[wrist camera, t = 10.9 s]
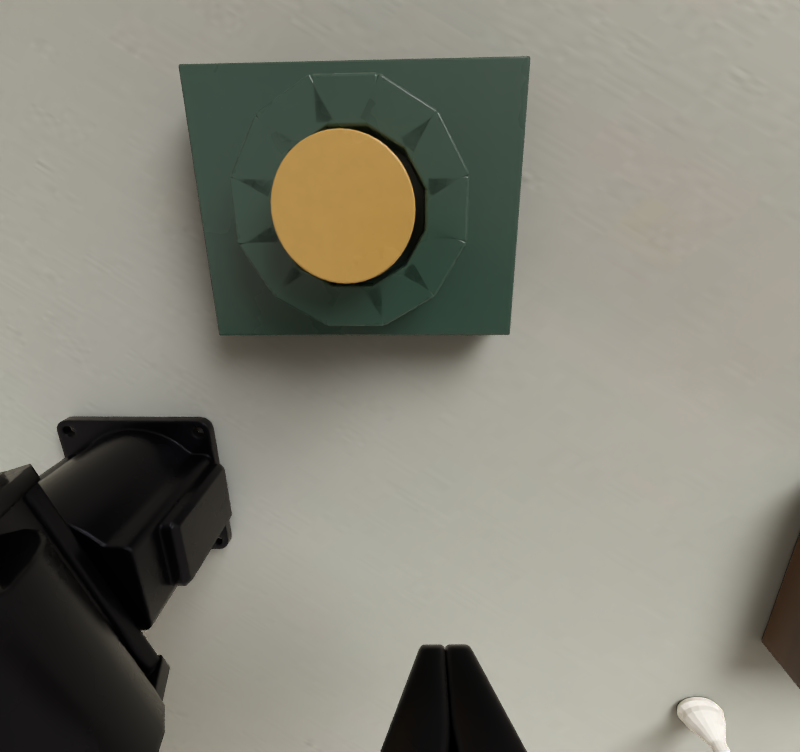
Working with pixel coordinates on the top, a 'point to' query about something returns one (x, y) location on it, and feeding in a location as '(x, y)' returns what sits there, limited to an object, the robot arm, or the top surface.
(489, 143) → the box
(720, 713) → the chess pawn
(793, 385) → the top surface
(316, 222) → the release button
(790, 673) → the lock plate
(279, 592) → the top surface
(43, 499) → the robot arm
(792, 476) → the top surface
